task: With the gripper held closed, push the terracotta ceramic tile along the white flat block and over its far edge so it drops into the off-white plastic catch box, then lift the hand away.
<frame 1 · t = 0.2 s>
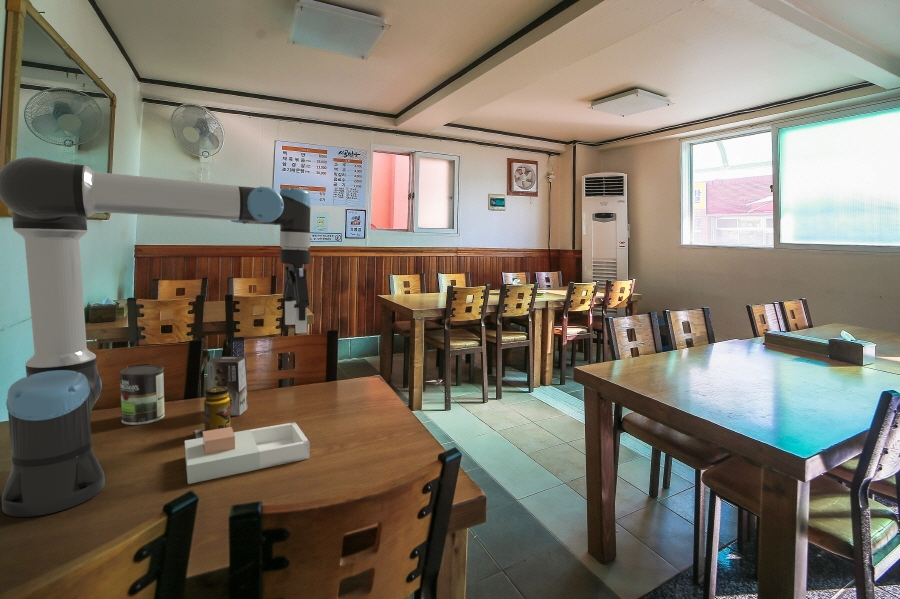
hand: (295, 328, 123), 28 cm above the table, tool pointing down, fingers open, 13 cm apart
catch box: (278, 451, 111), on the table
coffee can: (144, 419, 129), on the table
coffee box: (228, 412, 136), on the table
condiment: (214, 434, 120), on the table
white flat block: (221, 462, 104), on the table
tile: (218, 446, 104), point 4 cm above the table, touching white flat block
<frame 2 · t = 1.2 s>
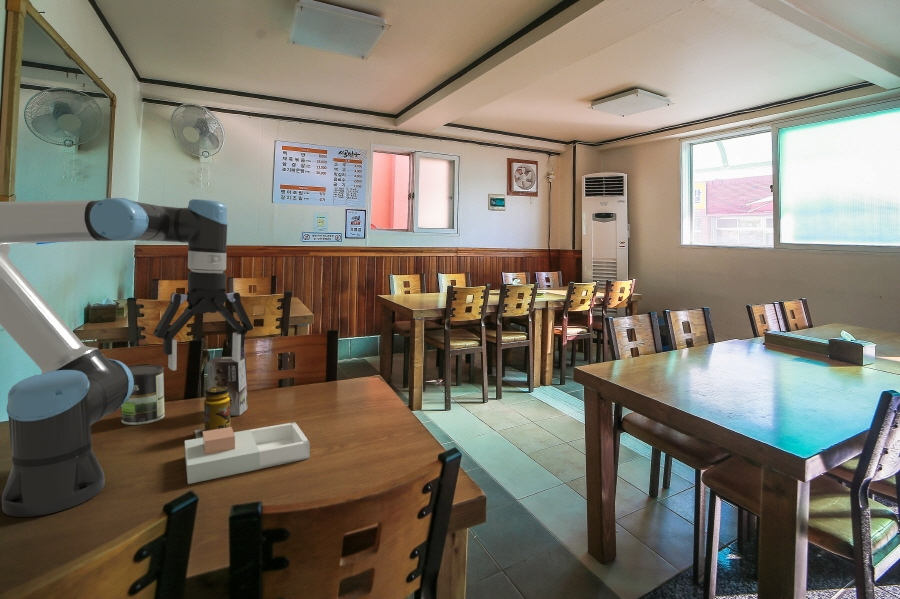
hand: (205, 364, 104), 22 cm above the table, tool pointing down, fingers open, 13 cm apart
nothing on the table moved.
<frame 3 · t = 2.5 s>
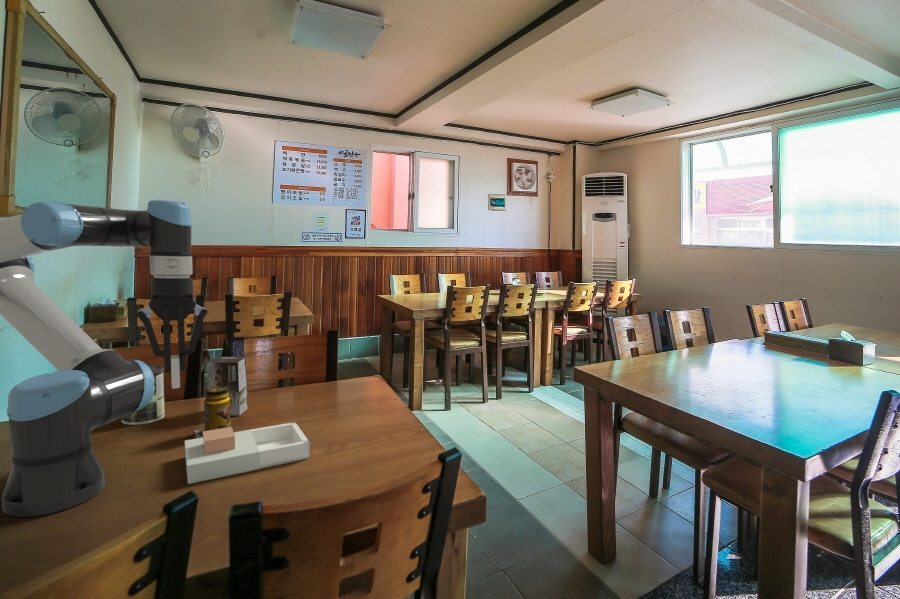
hand: (175, 386, 98), 19 cm above the table, tool pointing down, fingers closed
nothing on the table moved.
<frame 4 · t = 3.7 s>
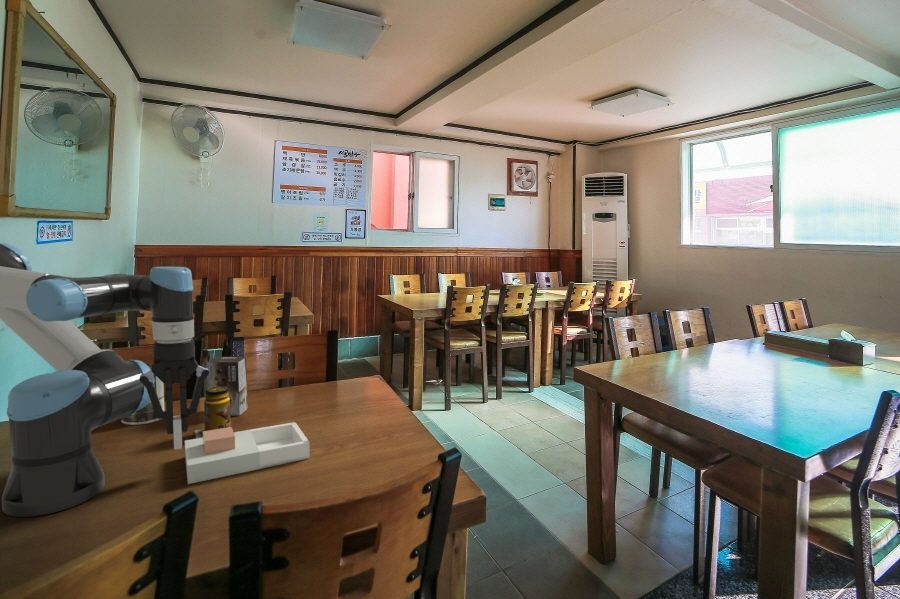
hand: (178, 446, 99), 6 cm above the table, tool pointing down, fingers closed
nothing on the table moved.
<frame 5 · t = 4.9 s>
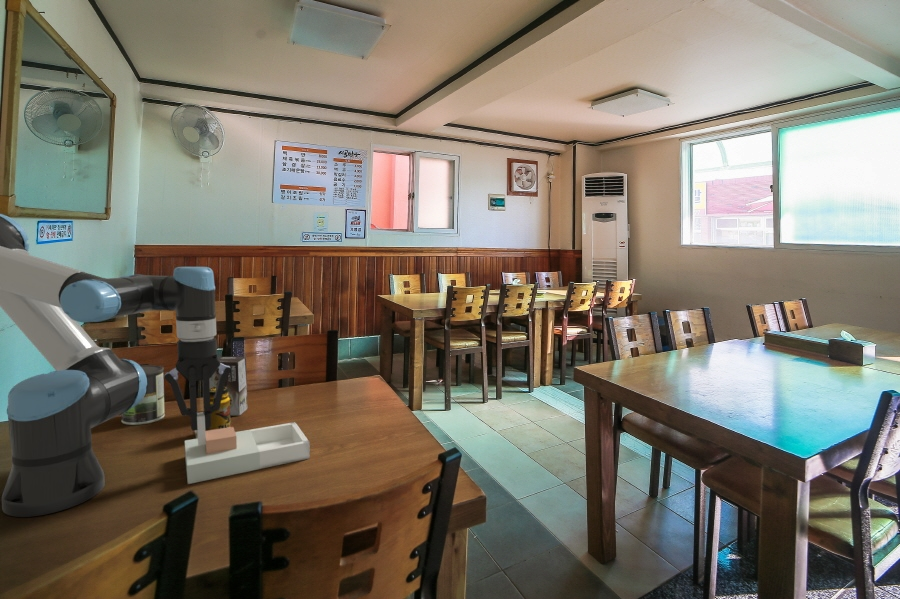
hand: (201, 442, 101), 6 cm above the table, tool pointing down, fingers closed
tile: (220, 446, 104), point 4 cm above the table, touching white flat block, gripper
everything else where it was.
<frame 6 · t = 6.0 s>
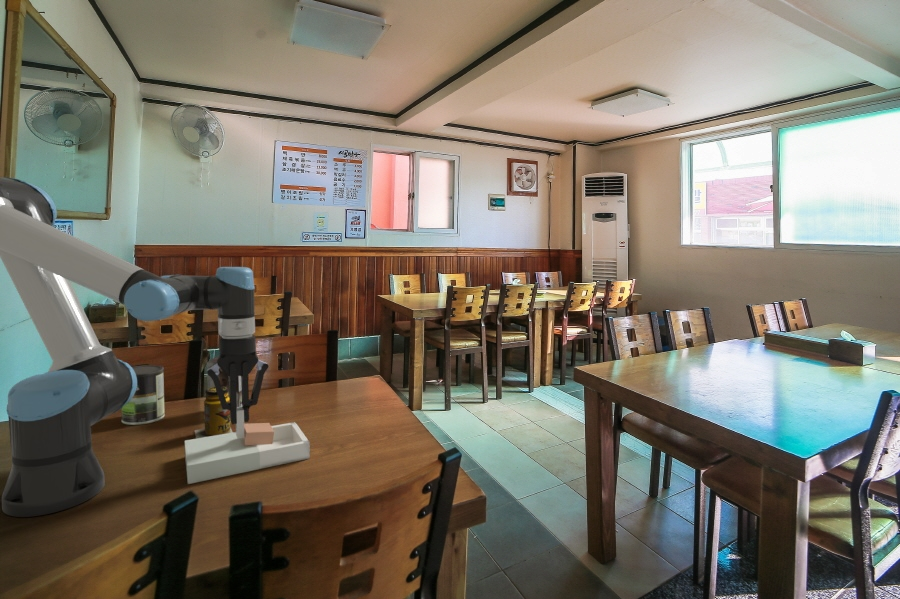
hand: (240, 435, 106), 6 cm above the table, tool pointing down, fingers closed
tile: (256, 440, 108), point 4 cm above the table, tilted 8°, touching gripper
everything else where it was.
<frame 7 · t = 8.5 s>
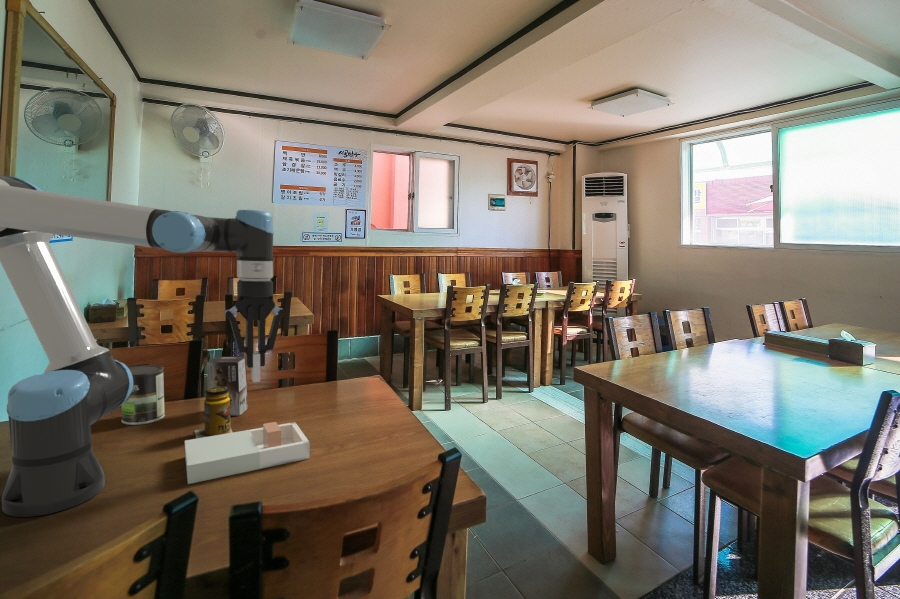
hand: (255, 380, 106), 18 cm above the table, tool pointing down, fingers closed
tile: (265, 440, 109), point 3 cm above the table, tilted 90°, touching catch box
everything else where it was.
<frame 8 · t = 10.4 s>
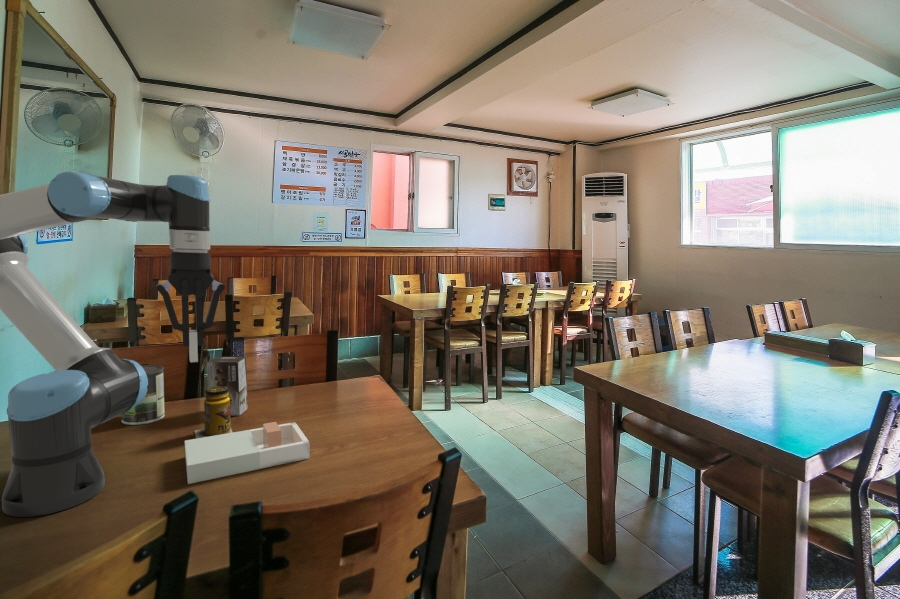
hand: (193, 360, 99), 24 cm above the table, tool pointing down, fingers closed
nothing on the table moved.
at the end: tile inside the target area on the catch box (2.6 cm from its centre), point 3.5 cm above the catch box's base; the gripper is holding nothing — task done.
